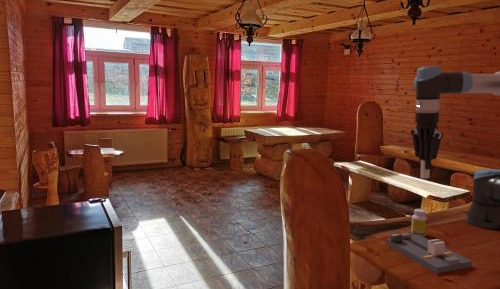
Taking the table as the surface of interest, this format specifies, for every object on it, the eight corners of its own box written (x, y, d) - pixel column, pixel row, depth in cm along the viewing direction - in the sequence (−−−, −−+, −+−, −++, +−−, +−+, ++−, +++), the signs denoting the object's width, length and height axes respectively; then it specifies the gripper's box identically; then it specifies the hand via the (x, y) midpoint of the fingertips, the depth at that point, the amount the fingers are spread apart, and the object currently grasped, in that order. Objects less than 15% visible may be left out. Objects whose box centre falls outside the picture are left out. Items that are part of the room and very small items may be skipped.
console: (417, 239, 143) (418, 227, 142) (471, 267, 120) (472, 253, 120) (386, 244, 139) (386, 232, 138) (436, 273, 116) (437, 259, 116)
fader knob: (437, 250, 127) (438, 238, 127) (444, 253, 125) (445, 241, 124) (427, 251, 126) (427, 239, 126) (433, 255, 123) (434, 243, 123)
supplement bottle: (427, 237, 145) (429, 212, 144) (412, 236, 146) (414, 212, 145) (424, 232, 150) (425, 208, 149) (409, 231, 151) (410, 207, 150)
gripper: (405, 111, 137) (403, 175, 140) (433, 113, 124) (430, 182, 128) (421, 110, 139) (419, 173, 142) (450, 112, 127) (447, 180, 130)
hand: (424, 177), depth 135 cm, fingers closed
